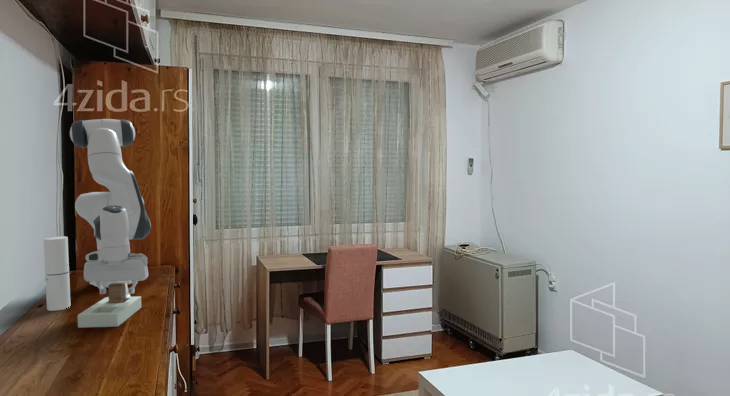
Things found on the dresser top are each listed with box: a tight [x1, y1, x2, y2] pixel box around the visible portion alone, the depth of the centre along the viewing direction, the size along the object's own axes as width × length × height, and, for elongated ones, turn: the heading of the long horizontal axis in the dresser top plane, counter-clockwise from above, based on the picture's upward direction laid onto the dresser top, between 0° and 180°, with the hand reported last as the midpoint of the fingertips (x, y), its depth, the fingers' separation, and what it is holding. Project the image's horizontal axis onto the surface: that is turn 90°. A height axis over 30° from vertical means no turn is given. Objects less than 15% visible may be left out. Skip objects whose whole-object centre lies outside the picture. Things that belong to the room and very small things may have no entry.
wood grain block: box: [107, 282, 126, 303], centre depth 167 cm, size 4×4×10 cm
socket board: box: [77, 295, 142, 329], centre depth 162 cm, size 20×12×4 cm, turn 5°
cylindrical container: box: [43, 235, 72, 312], centre depth 171 cm, size 7×7×25 cm
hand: (117, 293), depth 167 cm, fingers open, 8 cm apart
